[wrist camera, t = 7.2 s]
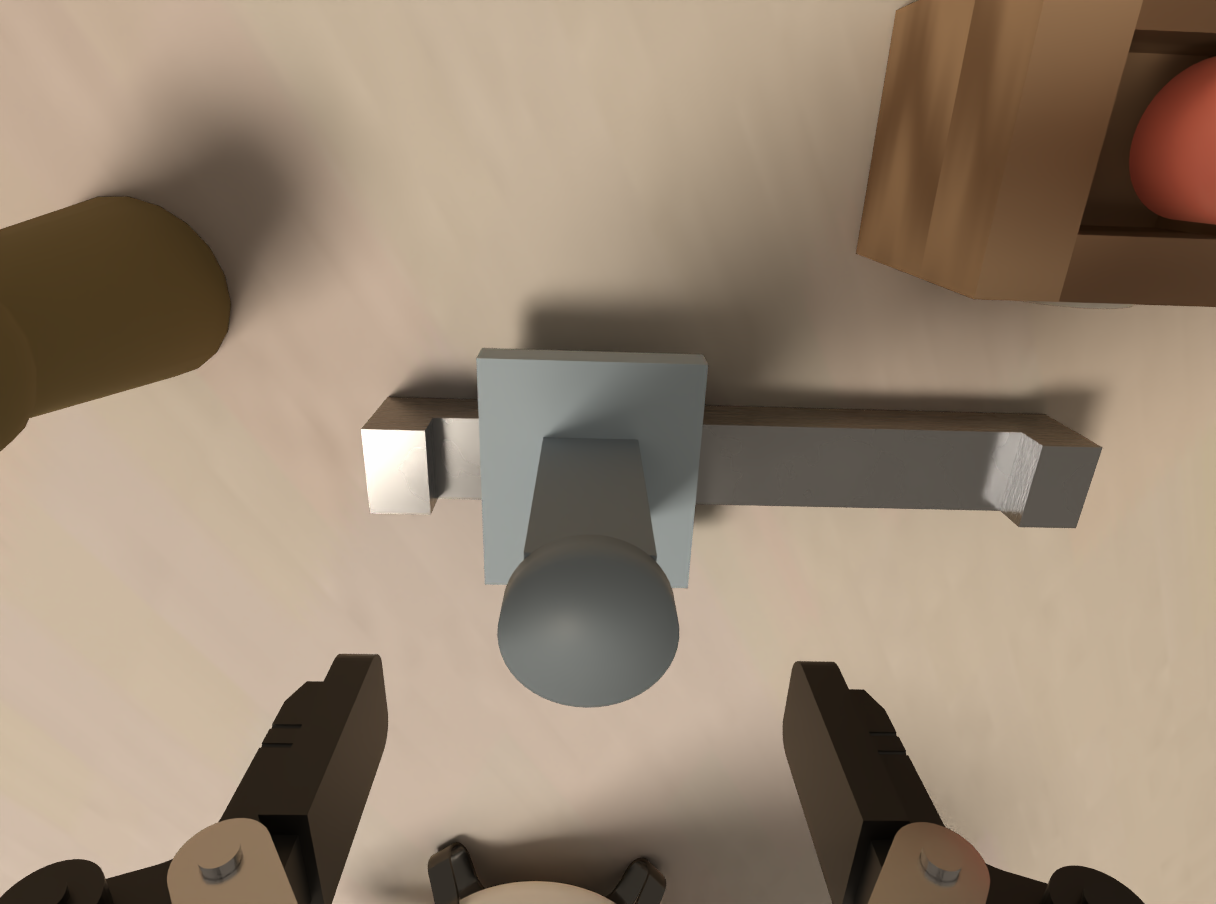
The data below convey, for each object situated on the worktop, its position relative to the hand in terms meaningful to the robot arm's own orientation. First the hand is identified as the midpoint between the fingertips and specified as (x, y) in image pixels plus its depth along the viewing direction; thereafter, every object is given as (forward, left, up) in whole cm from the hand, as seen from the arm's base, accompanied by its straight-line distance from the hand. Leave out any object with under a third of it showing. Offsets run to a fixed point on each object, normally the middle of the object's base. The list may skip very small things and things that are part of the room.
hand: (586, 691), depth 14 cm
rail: (0, +5, -13) cm, 14 cm away
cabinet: (-10, +13, -13) cm, 21 cm away
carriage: (0, 0, -13) cm, 13 cm away
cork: (-5, -15, -14) cm, 21 cm away
